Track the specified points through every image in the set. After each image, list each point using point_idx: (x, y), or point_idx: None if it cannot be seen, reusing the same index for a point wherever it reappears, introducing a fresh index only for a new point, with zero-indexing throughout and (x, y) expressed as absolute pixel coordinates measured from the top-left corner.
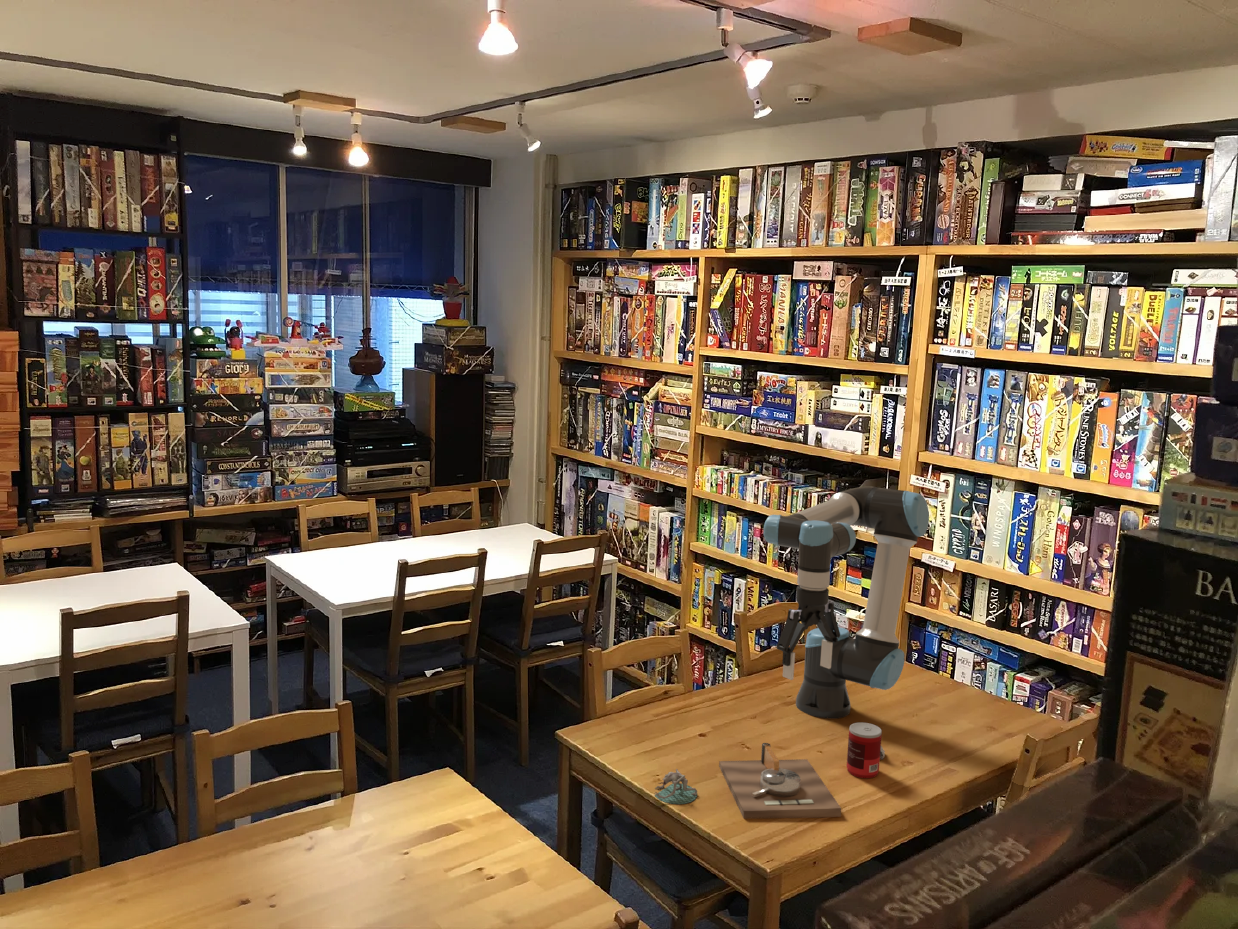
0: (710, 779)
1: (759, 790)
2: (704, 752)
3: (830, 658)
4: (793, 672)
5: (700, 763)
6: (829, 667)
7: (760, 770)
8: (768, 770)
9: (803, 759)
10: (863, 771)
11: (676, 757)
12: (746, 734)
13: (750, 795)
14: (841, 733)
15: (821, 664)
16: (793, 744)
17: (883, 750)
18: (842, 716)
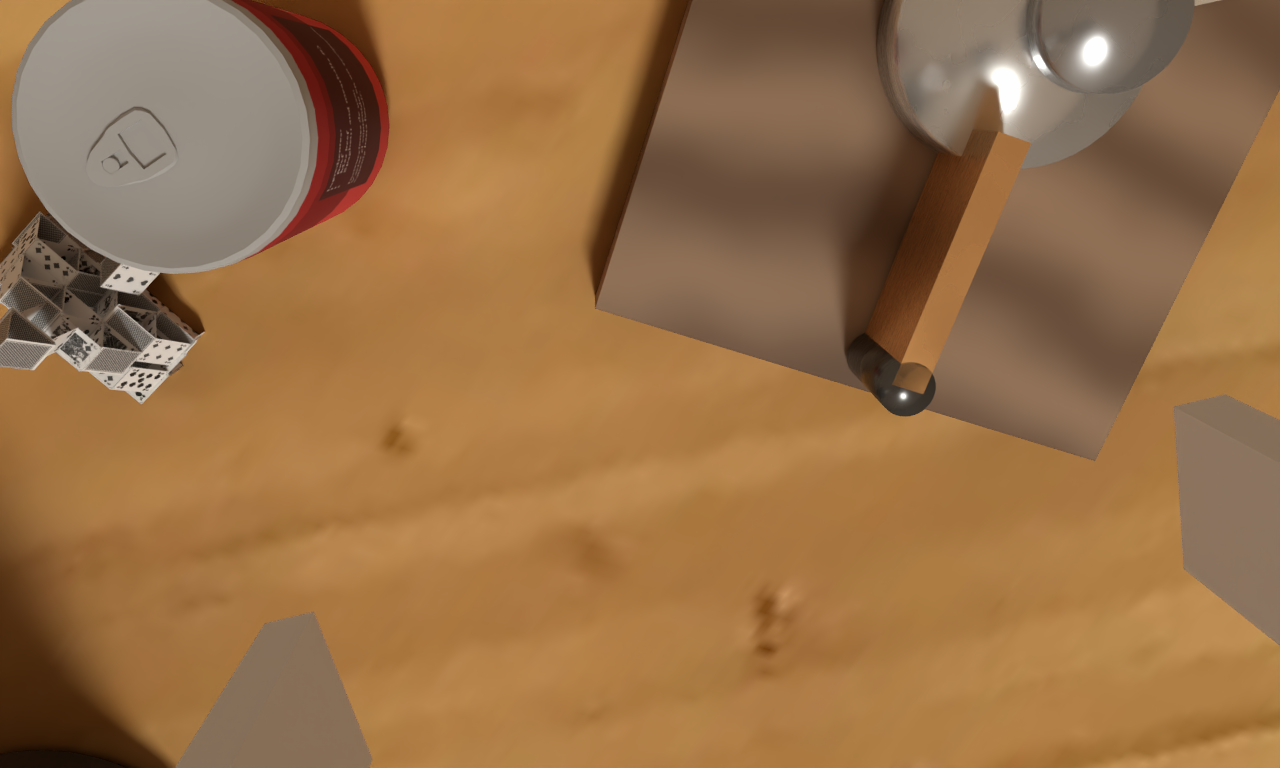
0: (1187, 358)
1: None
2: (1015, 628)
3: (225, 732)
4: (1267, 448)
5: (1114, 530)
6: (295, 626)
7: None
8: (1106, 86)
9: (619, 314)
10: (332, 30)
11: (1179, 624)
12: (677, 737)
13: (1225, 18)
14: (127, 595)
15: (358, 757)
16: (496, 563)
17: (2, 268)
18: (5, 757)
